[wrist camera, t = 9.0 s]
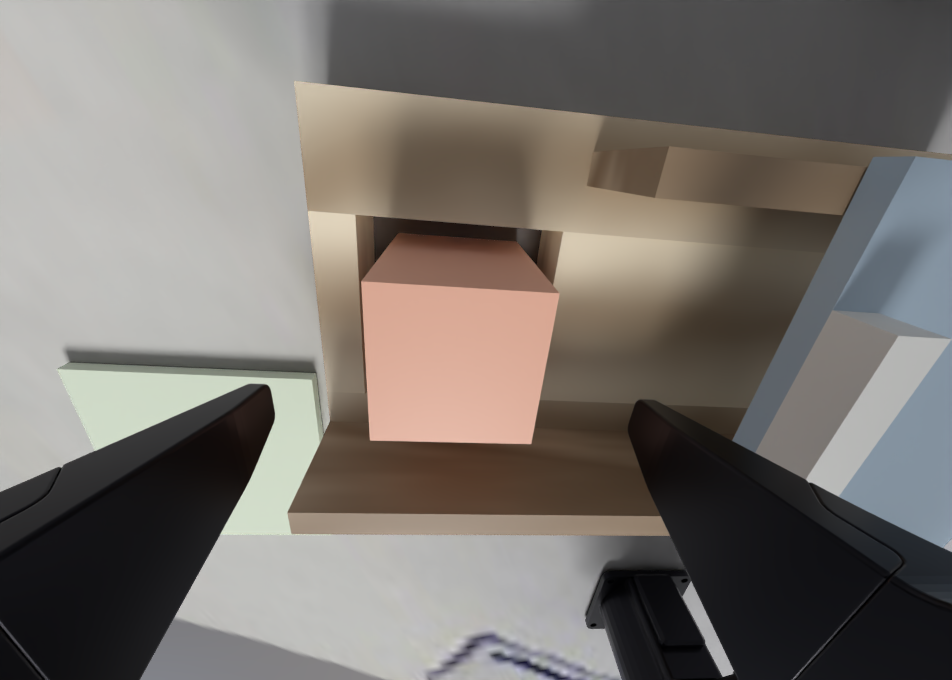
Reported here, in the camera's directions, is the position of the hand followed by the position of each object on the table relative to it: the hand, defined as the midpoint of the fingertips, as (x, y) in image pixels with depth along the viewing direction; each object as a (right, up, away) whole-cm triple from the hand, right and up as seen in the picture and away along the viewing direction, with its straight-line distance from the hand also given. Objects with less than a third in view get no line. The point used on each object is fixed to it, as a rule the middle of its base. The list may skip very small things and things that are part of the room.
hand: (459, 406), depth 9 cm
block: (-1, +4, +8) cm, 8 cm away
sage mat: (-13, -5, +11) cm, 18 cm away
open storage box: (+6, +3, +8) cm, 11 cm away
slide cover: (+13, 0, +2) cm, 13 cm away
